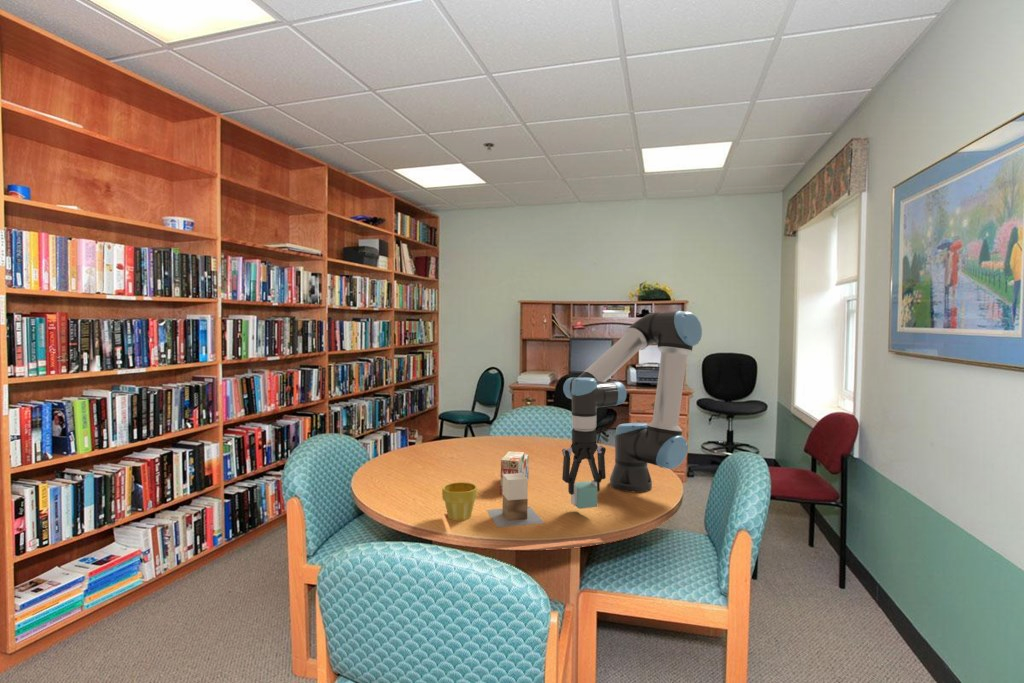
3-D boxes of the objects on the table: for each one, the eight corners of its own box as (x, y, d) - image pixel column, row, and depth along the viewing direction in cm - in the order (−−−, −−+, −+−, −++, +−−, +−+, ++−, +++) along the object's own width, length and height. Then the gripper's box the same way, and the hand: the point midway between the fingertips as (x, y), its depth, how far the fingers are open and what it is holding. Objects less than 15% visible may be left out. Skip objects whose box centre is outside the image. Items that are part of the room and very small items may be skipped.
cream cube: (521, 492, 155) (521, 473, 155) (527, 498, 149) (527, 478, 149) (502, 493, 154) (502, 474, 153) (507, 500, 148) (508, 480, 148)
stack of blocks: (512, 477, 196) (513, 445, 195) (528, 478, 194) (529, 446, 194) (500, 494, 175) (500, 459, 174) (517, 496, 173) (518, 460, 173)
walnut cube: (521, 511, 155) (521, 492, 155) (527, 519, 150) (527, 498, 149) (502, 513, 154) (502, 493, 154) (507, 520, 148) (508, 500, 148)
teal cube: (588, 500, 160) (588, 481, 159) (597, 506, 154) (597, 487, 154) (571, 502, 158) (571, 482, 158) (579, 508, 152) (579, 489, 152)
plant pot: (435, 517, 152) (436, 485, 152) (465, 510, 158) (466, 479, 158) (452, 528, 144) (452, 494, 144) (483, 521, 150) (483, 488, 150)
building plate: (529, 509, 160) (529, 506, 160) (544, 526, 147) (544, 522, 147) (486, 513, 156) (486, 510, 156) (497, 530, 143) (497, 527, 143)
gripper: (606, 424, 161) (606, 496, 162) (550, 428, 156) (550, 502, 157) (618, 429, 154) (617, 504, 155) (559, 433, 149) (559, 510, 150)
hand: (584, 503), depth 156 cm, fingers closed on teal cube, 6 cm apart
